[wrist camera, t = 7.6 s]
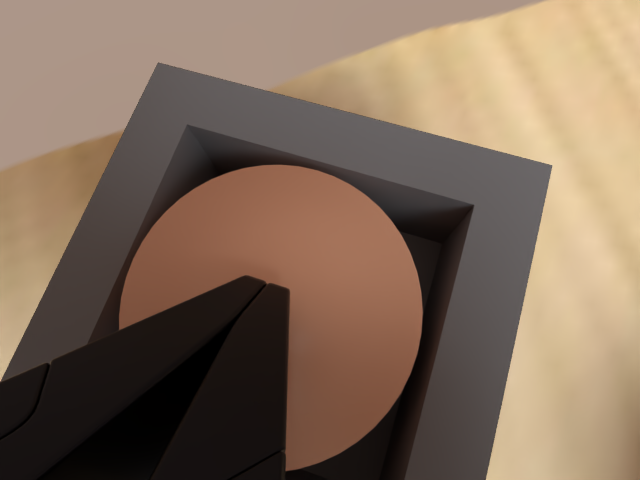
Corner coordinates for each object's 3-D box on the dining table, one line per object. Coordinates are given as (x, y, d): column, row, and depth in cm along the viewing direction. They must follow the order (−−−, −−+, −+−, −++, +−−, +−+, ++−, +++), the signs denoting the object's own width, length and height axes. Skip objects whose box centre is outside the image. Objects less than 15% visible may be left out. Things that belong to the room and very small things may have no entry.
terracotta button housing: (391, 508, 14) (443, 674, 7) (148, 415, 16) (-41, 465, 8) (455, 256, 17) (551, 165, 9) (238, 191, 18) (158, 62, 10)
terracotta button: (363, 478, 10) (371, 525, 7) (142, 394, 11) (66, 405, 8) (426, 248, 11) (455, 209, 8) (227, 189, 12) (189, 134, 9)
